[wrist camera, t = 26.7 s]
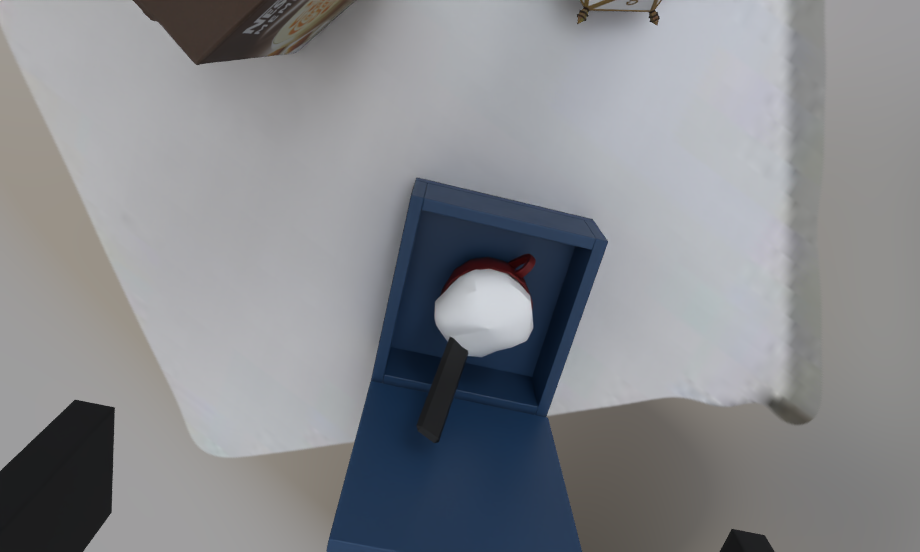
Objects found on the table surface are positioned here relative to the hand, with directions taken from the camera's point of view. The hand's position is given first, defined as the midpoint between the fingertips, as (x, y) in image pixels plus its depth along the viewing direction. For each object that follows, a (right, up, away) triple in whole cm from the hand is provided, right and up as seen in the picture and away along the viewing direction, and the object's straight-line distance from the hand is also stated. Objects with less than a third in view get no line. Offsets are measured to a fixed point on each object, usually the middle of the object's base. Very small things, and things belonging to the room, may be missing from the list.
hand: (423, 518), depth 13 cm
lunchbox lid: (+1, -6, +22) cm, 23 cm away
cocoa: (+2, +4, +31) cm, 31 cm away
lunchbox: (+2, +4, +31) cm, 32 cm away
